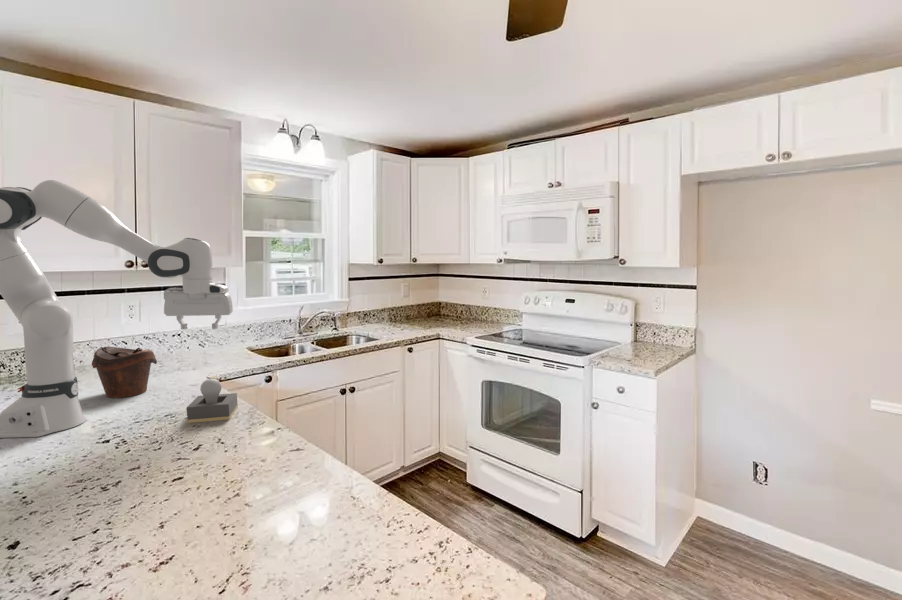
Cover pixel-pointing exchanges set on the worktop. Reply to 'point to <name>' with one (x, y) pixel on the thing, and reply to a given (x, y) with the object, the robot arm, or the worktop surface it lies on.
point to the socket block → (212, 408)
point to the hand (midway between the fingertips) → (199, 328)
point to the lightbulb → (211, 390)
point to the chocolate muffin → (123, 370)
